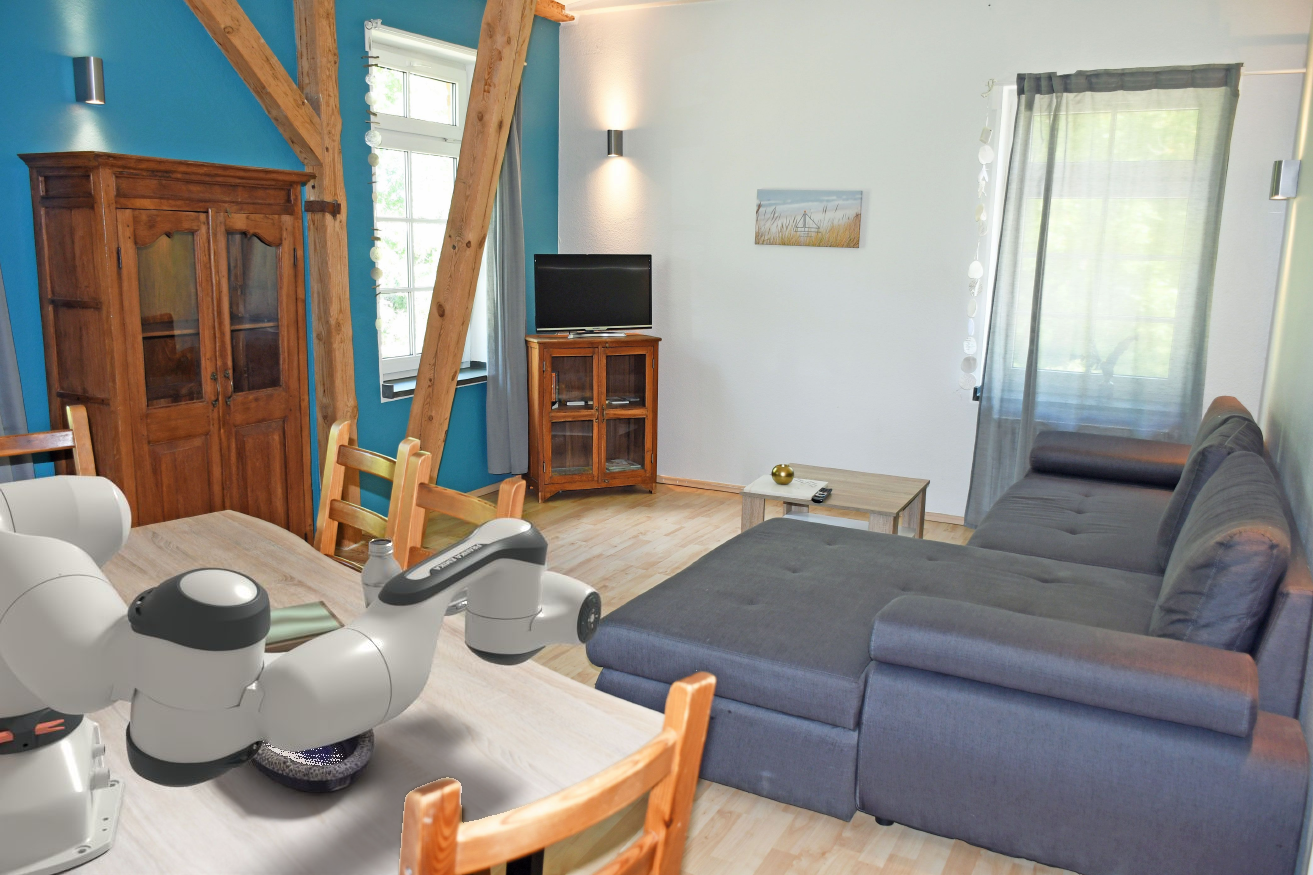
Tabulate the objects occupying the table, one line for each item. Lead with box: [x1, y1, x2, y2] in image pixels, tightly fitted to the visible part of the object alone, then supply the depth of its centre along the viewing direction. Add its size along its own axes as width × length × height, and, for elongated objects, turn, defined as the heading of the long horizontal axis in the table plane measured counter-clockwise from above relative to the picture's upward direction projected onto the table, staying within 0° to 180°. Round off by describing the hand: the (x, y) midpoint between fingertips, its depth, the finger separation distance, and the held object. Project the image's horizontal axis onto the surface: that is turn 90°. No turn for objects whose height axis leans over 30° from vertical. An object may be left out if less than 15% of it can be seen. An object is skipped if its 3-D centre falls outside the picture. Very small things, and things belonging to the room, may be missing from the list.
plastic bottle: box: [360, 538, 403, 610], centre depth 153 cm, size 6×7×20 cm
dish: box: [250, 728, 375, 793], centre depth 128 cm, size 16×31×5 cm, turn 38°
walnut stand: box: [264, 600, 346, 653], centre depth 162 cm, size 16×14×3 cm
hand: (438, 569), depth 145 cm, fingers open, 8 cm apart
